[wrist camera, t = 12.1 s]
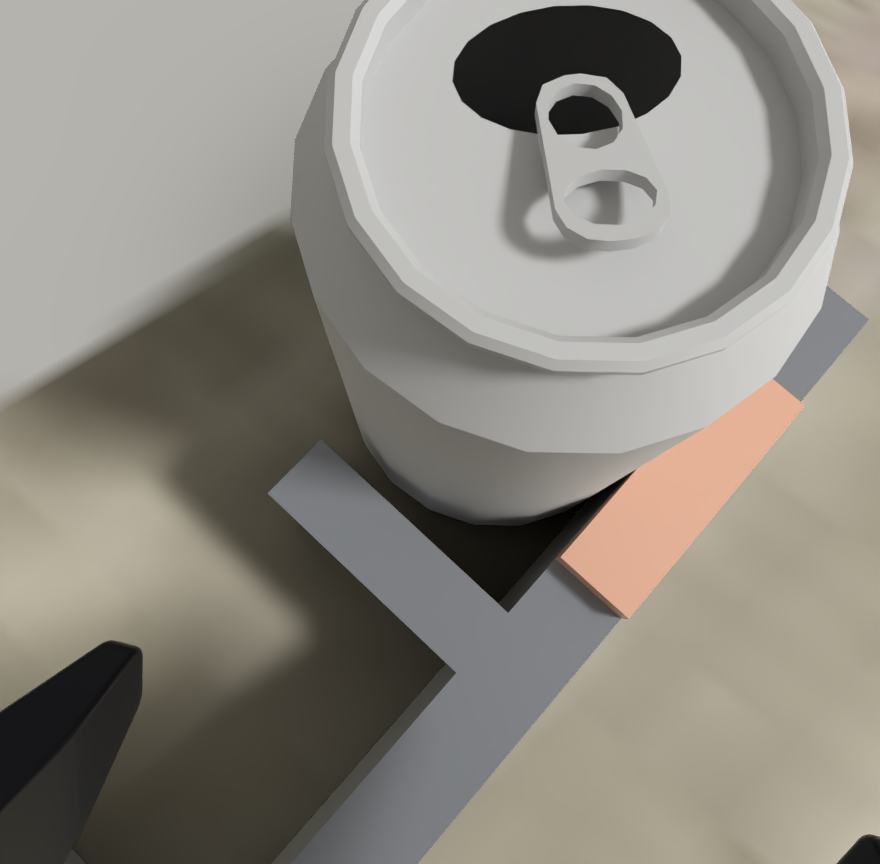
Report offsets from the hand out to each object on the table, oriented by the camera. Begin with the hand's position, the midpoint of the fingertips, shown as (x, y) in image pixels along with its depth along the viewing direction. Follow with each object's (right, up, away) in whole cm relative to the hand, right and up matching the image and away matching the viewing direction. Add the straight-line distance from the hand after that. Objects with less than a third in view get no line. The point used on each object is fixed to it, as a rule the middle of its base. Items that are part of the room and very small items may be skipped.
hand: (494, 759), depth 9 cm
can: (+1, +5, +11) cm, 12 cm away
